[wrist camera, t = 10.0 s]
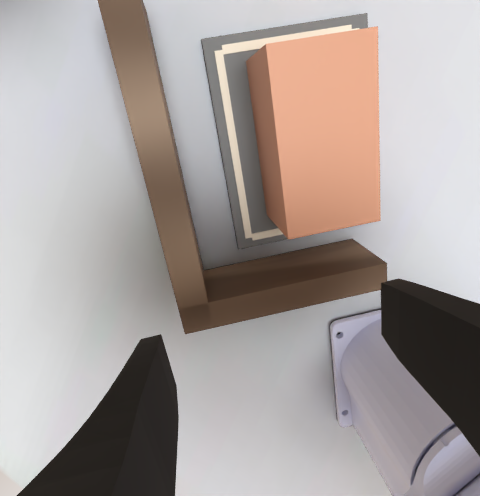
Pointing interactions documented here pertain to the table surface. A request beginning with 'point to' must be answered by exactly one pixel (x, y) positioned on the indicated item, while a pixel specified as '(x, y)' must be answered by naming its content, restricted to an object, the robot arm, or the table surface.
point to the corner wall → (180, 220)
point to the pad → (250, 118)
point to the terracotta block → (318, 130)
